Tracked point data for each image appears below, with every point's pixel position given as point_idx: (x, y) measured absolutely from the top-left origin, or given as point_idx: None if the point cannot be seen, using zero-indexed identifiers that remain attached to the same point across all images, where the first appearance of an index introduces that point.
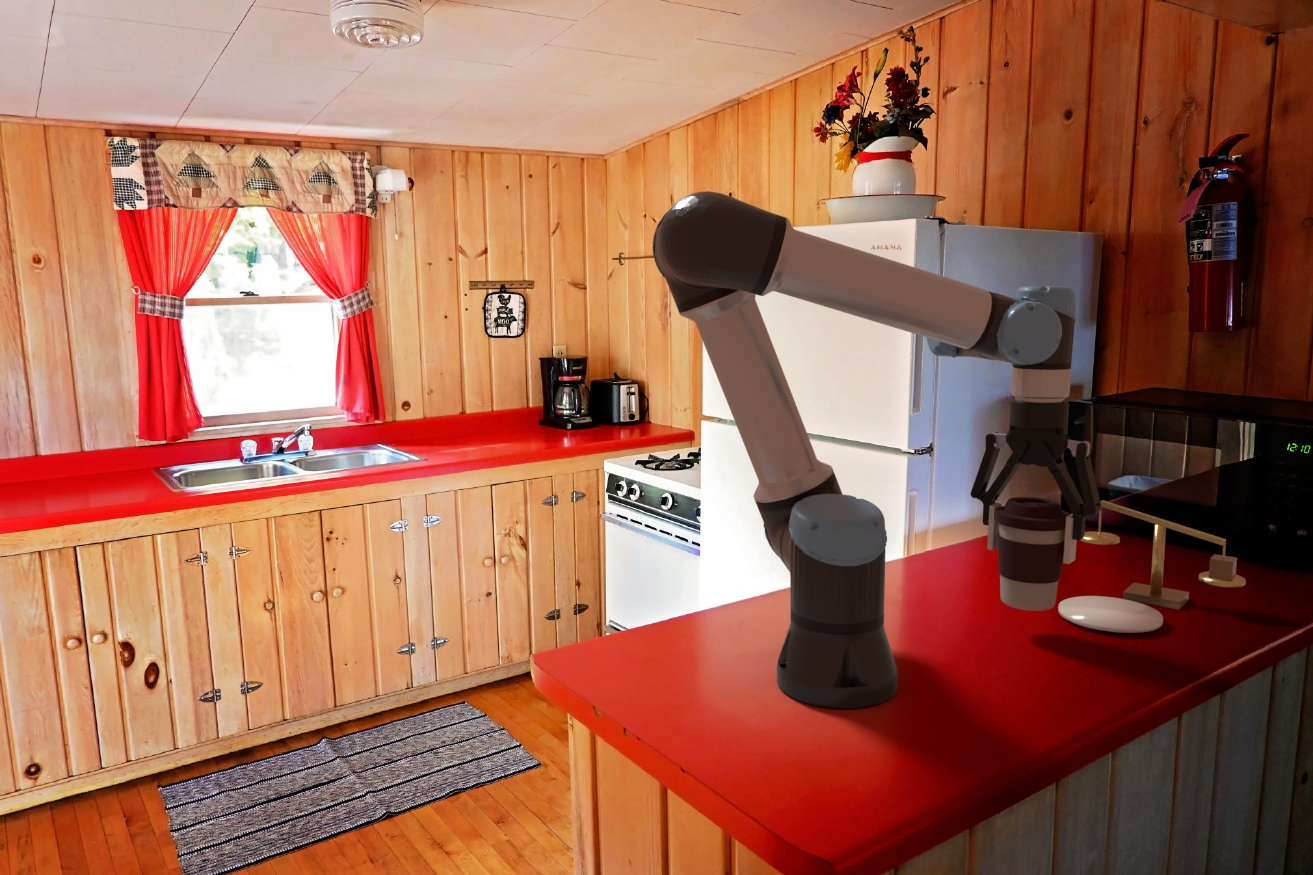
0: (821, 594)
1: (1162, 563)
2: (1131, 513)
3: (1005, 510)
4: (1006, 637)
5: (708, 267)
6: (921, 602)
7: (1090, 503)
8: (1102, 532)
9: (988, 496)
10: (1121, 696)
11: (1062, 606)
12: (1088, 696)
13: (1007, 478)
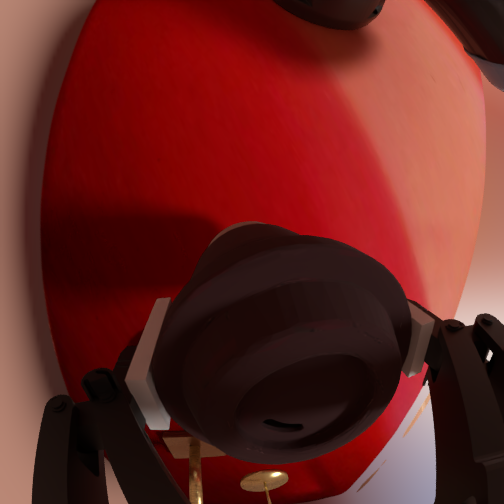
0: None
1: (189, 472)
2: None
3: (382, 309)
4: (257, 219)
5: None
6: (395, 261)
7: (51, 425)
8: (268, 489)
9: (458, 335)
10: (68, 144)
11: None
12: (92, 113)
13: (460, 420)
